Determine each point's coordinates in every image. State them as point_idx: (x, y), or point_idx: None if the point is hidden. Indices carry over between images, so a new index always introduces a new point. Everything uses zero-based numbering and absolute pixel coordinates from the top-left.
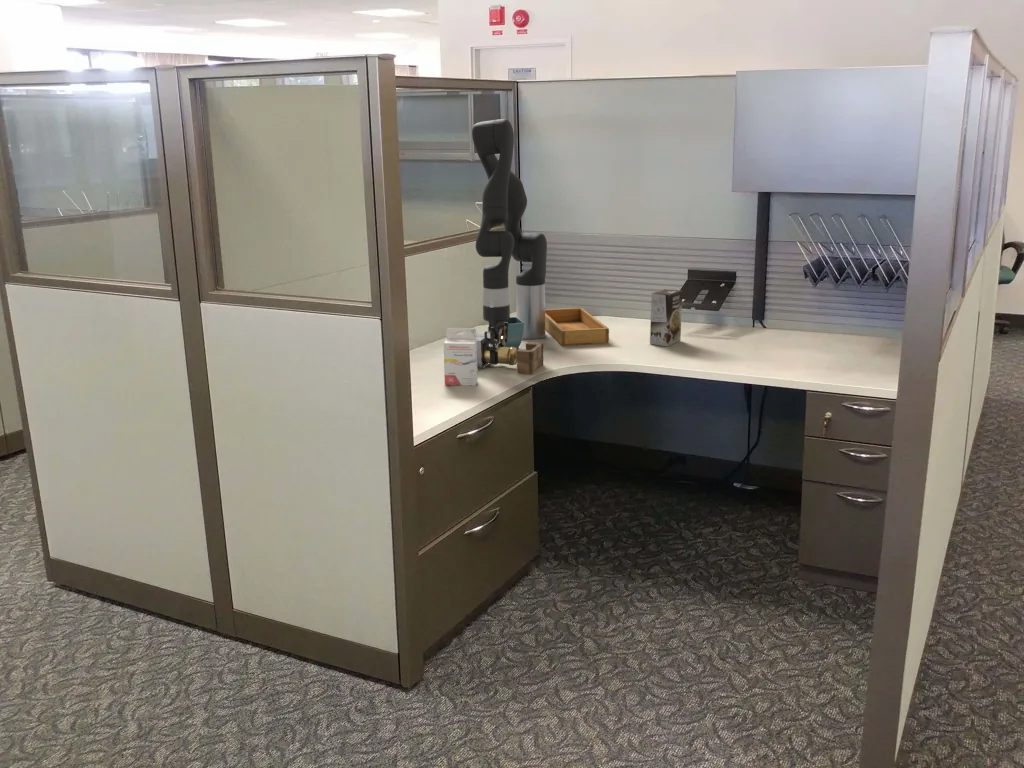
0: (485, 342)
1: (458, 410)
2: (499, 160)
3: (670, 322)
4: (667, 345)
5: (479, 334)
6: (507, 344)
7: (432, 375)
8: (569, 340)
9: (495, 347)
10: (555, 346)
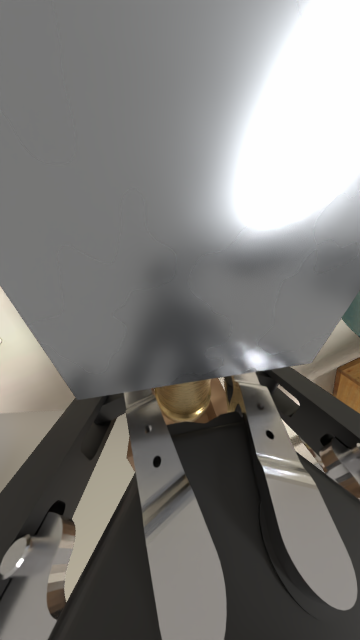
0: (33, 452)
1: None
2: None
3: None
4: (300, 439)
5: (330, 285)
6: (354, 302)
7: None
8: (347, 383)
9: (112, 422)
10: (339, 360)
